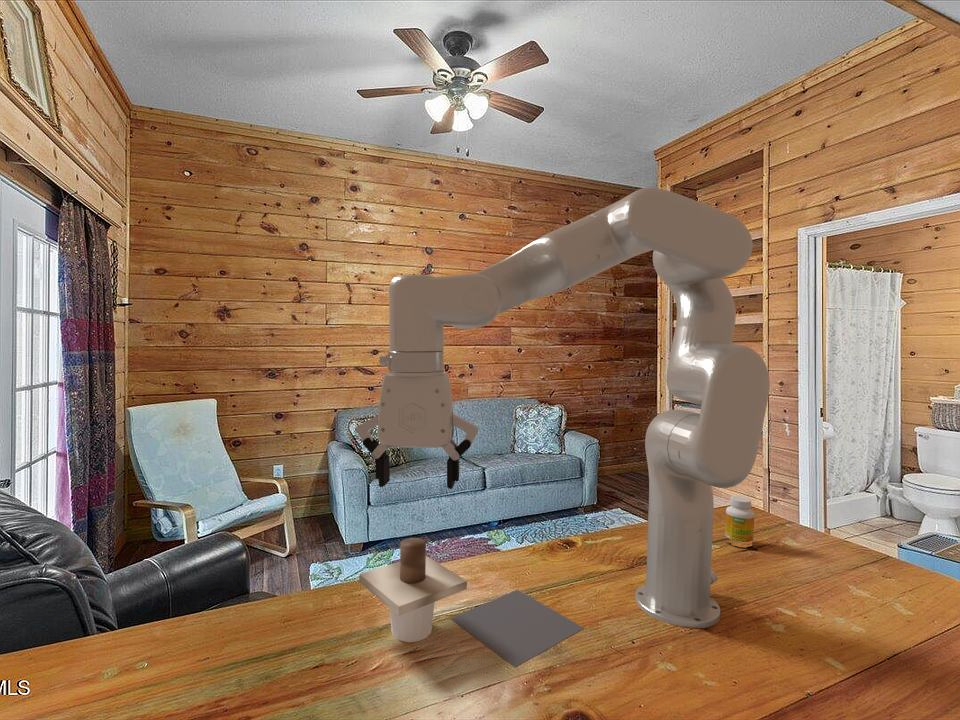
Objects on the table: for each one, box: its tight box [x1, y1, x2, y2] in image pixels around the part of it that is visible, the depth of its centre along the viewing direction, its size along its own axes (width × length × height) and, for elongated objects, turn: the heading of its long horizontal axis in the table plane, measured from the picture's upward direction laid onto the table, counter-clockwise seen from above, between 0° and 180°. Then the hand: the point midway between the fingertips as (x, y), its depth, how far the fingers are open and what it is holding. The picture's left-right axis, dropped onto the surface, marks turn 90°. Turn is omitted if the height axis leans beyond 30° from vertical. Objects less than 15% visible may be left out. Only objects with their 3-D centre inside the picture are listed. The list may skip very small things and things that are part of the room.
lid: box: [358, 537, 468, 616], centre depth 70 cm, size 11×11×6 cm
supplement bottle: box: [724, 495, 755, 542], centre depth 105 cm, size 5×5×10 cm
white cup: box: [389, 602, 435, 643], centre depth 71 cm, size 7×7×7 cm
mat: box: [449, 589, 585, 668], centre depth 73 cm, size 14×14×1 cm
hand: (417, 485), depth 70 cm, fingers open, 9 cm apart
